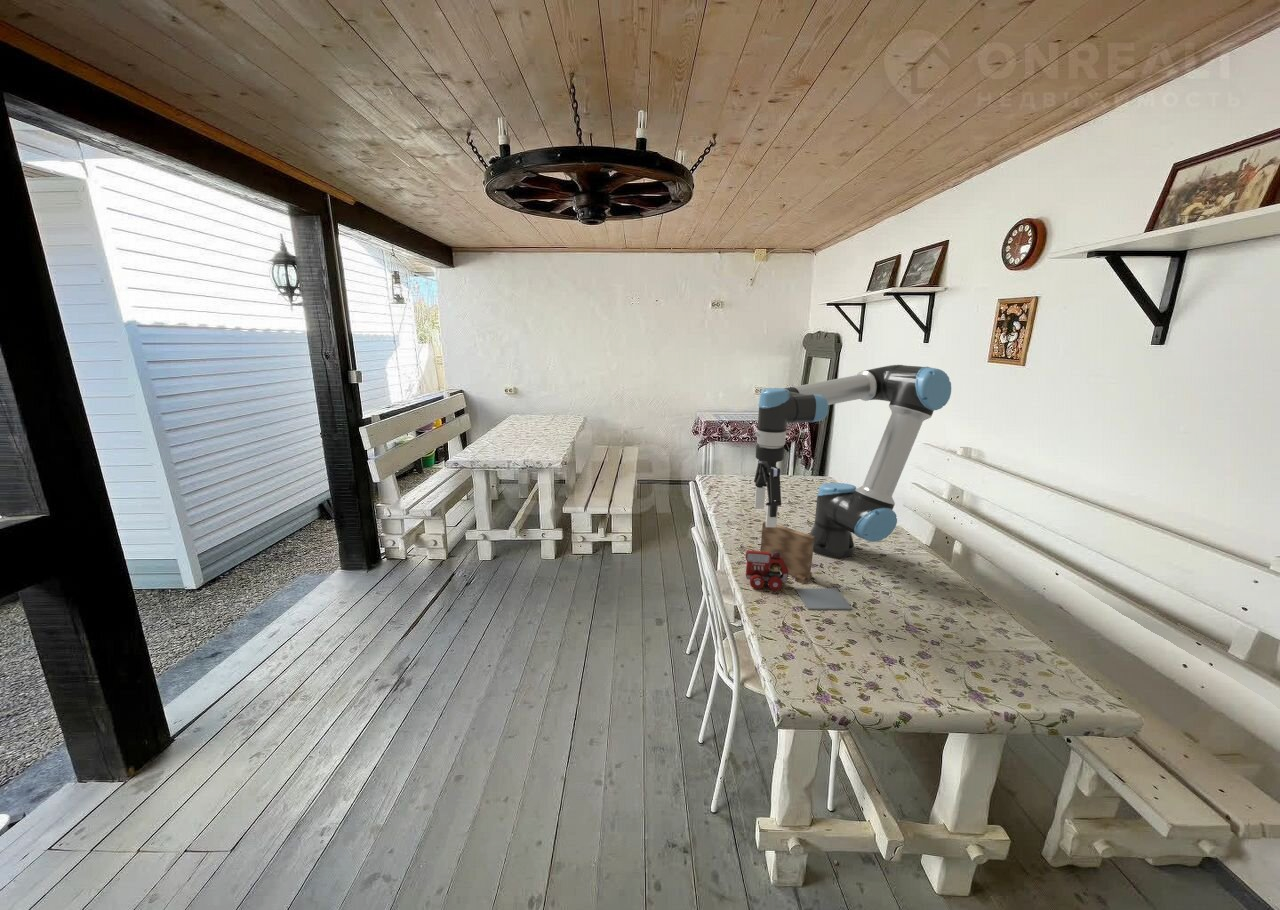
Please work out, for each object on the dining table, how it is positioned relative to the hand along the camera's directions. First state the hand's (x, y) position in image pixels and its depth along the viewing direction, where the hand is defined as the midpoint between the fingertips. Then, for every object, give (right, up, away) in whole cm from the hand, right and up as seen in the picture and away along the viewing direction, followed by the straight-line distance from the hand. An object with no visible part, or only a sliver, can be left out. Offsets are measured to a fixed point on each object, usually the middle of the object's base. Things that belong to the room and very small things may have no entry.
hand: (764, 517), depth 133 cm
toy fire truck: (+1, -21, +5) cm, 21 cm away
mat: (+15, -23, -3) cm, 27 cm away
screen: (+9, -18, +12) cm, 24 cm away
